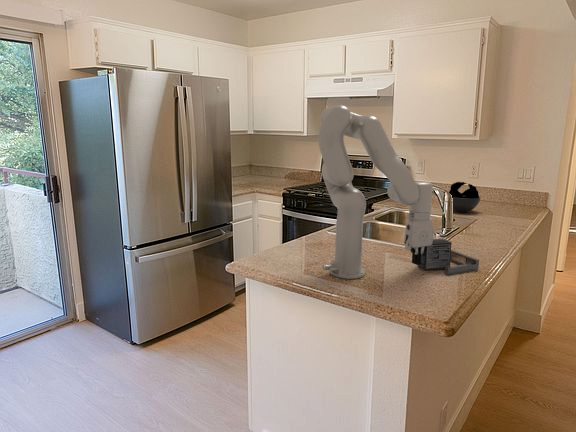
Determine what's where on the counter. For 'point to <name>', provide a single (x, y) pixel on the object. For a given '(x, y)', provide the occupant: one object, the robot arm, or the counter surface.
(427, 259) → the small box
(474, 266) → the rack bay
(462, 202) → the coal bowl
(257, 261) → the counter surface
